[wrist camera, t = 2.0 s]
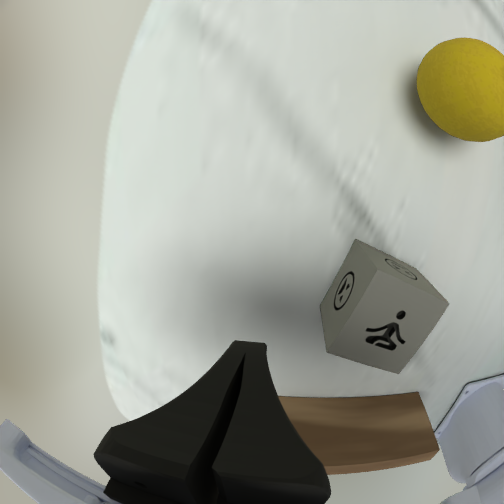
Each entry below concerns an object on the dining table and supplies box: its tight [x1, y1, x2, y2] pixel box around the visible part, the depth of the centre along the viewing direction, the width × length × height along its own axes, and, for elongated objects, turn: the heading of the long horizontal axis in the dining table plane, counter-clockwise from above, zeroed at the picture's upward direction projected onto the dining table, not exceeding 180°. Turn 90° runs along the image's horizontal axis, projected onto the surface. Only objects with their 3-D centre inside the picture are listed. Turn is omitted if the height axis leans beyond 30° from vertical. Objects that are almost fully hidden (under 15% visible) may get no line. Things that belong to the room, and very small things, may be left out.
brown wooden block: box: [278, 392, 439, 475], centre depth 17 cm, size 2×14×7 cm, turn 88°
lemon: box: [417, 38, 504, 142], centre depth 9 cm, size 6×6×8 cm
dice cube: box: [320, 239, 449, 374], centre depth 15 cm, size 5×5×5 cm
